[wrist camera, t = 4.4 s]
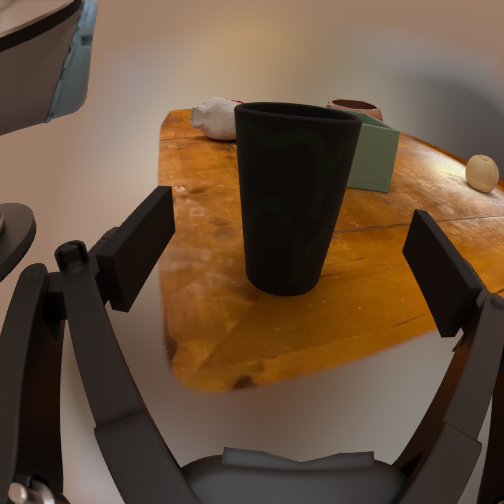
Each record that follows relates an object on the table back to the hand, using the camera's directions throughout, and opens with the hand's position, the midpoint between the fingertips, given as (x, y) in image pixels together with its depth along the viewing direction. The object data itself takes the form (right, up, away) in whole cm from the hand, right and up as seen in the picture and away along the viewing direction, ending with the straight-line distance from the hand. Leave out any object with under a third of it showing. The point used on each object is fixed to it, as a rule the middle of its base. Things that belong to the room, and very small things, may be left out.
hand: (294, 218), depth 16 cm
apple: (+44, +11, +33) cm, 56 cm away
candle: (-6, +22, +45) cm, 50 cm away
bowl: (+24, +29, +58) cm, 69 cm away
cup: (0, -3, +8) cm, 8 cm away
